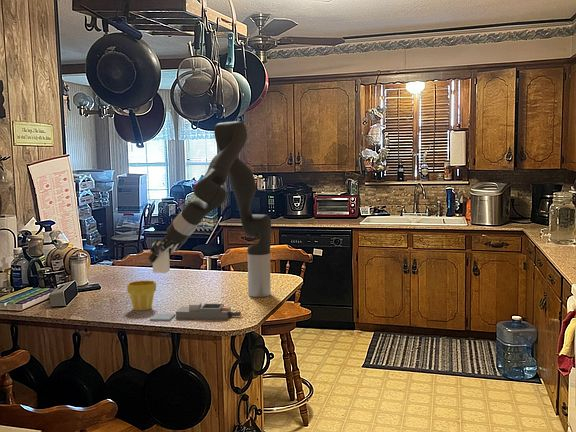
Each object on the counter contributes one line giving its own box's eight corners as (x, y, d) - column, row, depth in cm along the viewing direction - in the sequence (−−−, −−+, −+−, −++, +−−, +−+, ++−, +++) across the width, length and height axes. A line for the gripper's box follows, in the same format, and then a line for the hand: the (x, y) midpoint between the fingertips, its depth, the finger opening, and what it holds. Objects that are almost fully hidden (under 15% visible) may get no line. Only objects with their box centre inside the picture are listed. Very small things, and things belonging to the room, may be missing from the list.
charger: (157, 270, 200) (156, 240, 199) (169, 270, 200) (168, 240, 199) (153, 272, 196) (151, 242, 195) (165, 272, 195) (164, 242, 194)
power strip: (181, 313, 205) (181, 301, 205) (242, 314, 203) (242, 301, 203) (176, 318, 198) (175, 306, 198) (238, 319, 196) (238, 306, 196)
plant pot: (131, 305, 218) (130, 280, 217) (158, 304, 219) (157, 279, 218) (125, 312, 208) (124, 286, 207) (154, 311, 208) (153, 285, 208)
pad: (156, 315, 203) (156, 313, 203) (175, 315, 202) (175, 313, 202) (149, 320, 196) (149, 318, 196) (169, 320, 195) (169, 319, 195)
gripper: (189, 216, 199) (164, 248, 206) (162, 220, 186) (136, 254, 193) (202, 232, 197) (176, 264, 203) (175, 237, 184) (148, 270, 191)
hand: (157, 259), depth 198 cm, fingers closed on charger, 6 cm apart
